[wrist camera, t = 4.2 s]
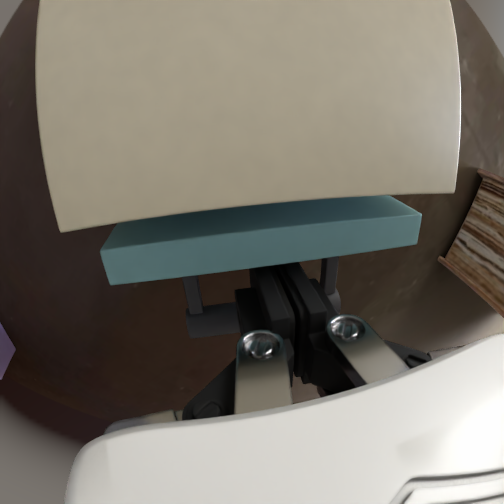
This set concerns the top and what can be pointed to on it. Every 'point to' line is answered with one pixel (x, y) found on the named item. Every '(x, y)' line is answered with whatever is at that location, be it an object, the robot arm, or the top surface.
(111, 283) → the teal drawer
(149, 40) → the drawer cabinet
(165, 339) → the top surface
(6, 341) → the lavender cube
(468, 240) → the book
